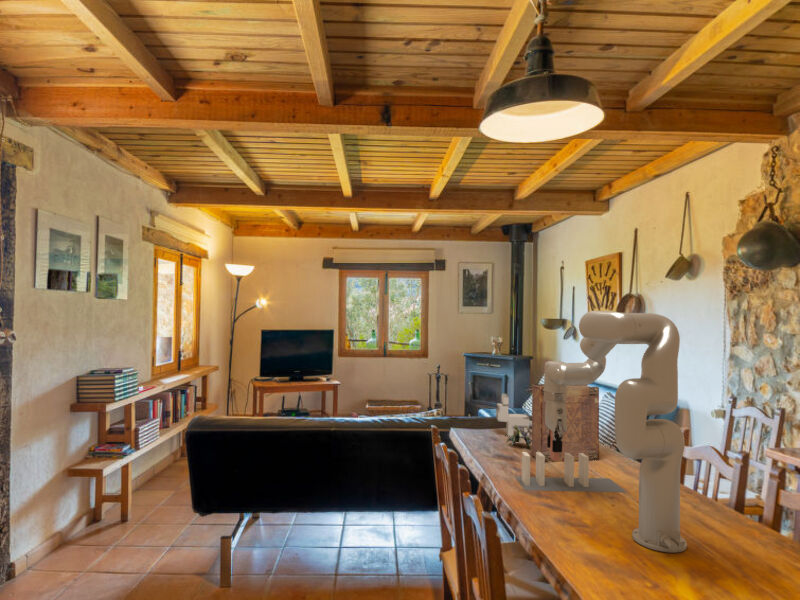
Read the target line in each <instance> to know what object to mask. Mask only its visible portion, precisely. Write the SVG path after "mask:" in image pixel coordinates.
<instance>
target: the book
mask: <svg viewBox="0 0 800 600" xmlns="http://www.w3.org/2000/svg"><path fill="white" fill-rule="evenodd" d="M531 386H532V387H531V388H532V389H531V390H532V391H531V394H532V395H531V421H532V427H531V432H532V434H531V440H532V441H531V457H533V456H534V457H533V458H535V459H536V452H541V453H542V454H543V455H544V456H545V463H549V462H548V461H554V460H553V459H552V458H551V457H550V448H548V447H547V436H548V435H547V431H548V429H547V428H548V427H547V426H546V424H545V410H546V401H544V383H540V384H539V383H536V384H535V383H534V384H532V385H531ZM565 404H566V413H567V431H566V432H564V431H563V433H564V434H563V437H562V439H563V440H562V452H559V461H564V455H565V453H570V454H571V455H572V456H574V462H579V453H584V454H585V455H586V456H588V457H589V462H591V461H593V460H594V461H595V460H596V461H599V460H600V388H599V387H598V386H590V385H576V386H567V402H566V403H565ZM557 430H558V429H557ZM596 461H595V462H596Z"/></svg>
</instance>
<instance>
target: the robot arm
mask: <svg viewBox="0 0 800 600" xmlns="http://www.w3.org/2000/svg"><path fill="white" fill-rule="evenodd" d="M578 330H579V333H580V334H581V336H582V338H581V340H580V343H579V348H580V350H581V352H582V353H583V354H584V355H585V357H587V360H586V361H584V362H564V361H561V360H559V361H558V360H548V361H546V362H545V364H544V383H543V384H544V401H546V410H545V424H546V426H547V427H548V428H547V429H548V431H547V435H548V436H547V447H548V448H550V430H552V431H553V439H554V440H552V451H553V452H562V440H563V439H562V437H563V434H564V433H563V431H564V432H566V431H567V413H566V404H565V403H566V402H567V386H576V385H587V386H590V385H591V384H592V383H594V382H595V381H597V380H598V379H599V378H600V377H601V376H602V374H603V373H604V372H605V370H606V365H607V358H606V356H607V355H608V354H609V353H610V352H611V351H612V350H613V349H614V348H615V347H616V346H617V345H648V346H647V348H646V350H645V351H644V353H643V355H642V358H641V363H640V364H641V365H640V367H641V374H640V378H639V377H637V378H635V377H634V378H628V379H624V380H623V381H622V382H621V383H620V384H619V385H618V386H617V389H616V391H615V395H614V439H615V444H616V448H617V449H618V451H619V452H620V453H621V455H622V456H624V457H625V458H628V459H631V460H641V462H640V465H639V470H638V471H639V472H638V527H637V528H634V529H633V530H632V533H631V535H632V536H631V537H632V539H633V540H634V541H635V543H638V544H639V545H641V546H643V547H645V548H647V549H650V550H654V551H657V552H662V553H672V554H673V553H674V554H675V553H682V552H684V551H685V550H687V547H688V543H687V541H686V539H685V538H684V537H682V536H681V467H682V460H683V459H682V458H683V457H684V456H683V454H684V452H685V451H684V450H685V445H686V444H685V442H686V440H685V434H684V431H683V430H682V428H681V427H680V426H679V425H678V424H677V423H675V422H674V421H672V420H669V419H664V418H653V419H649V418H647V417H648V416H659V415H661V416H662V415H667V414H671V413H673V412H674V411H675V410H676V409H677V407H678V402H679V383H678V380H679V379H678V378H679V371H678V369H679V368H678V363H679V362H678V359H679V351H680V343H681V342H680V339H681V338H680V337H681V336H680V333H679V330H678V327H677V326H676V324H675V323H674V322H673V320H671V318H670V319H669V317H666V316H665V315H661V314H657V313H648V312H647V313H646V312H618V311H614V310H613V311H611V310H590V311H588V312H585V314H583V315H582V316H581V318H580V320H579V323H578ZM555 429H556V430H557V429H558V431H555ZM556 433H558V434H557V435H556Z"/></svg>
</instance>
